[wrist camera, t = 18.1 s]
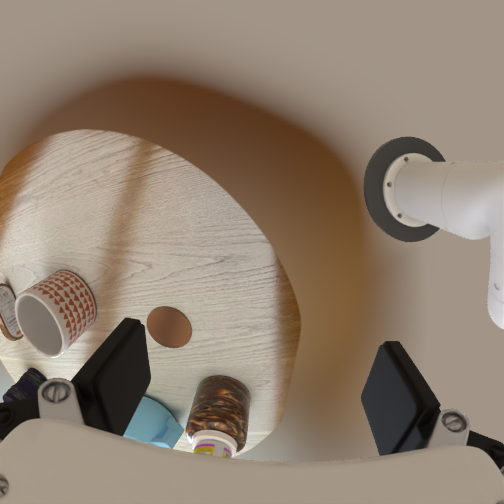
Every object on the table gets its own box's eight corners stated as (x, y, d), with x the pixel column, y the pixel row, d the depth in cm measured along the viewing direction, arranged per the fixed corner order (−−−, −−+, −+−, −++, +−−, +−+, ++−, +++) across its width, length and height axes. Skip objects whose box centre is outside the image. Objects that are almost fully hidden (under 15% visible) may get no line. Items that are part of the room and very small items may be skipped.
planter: (78, 337, 54) (48, 367, 42) (42, 290, 52) (7, 313, 39) (108, 309, 51) (75, 341, 39) (67, 257, 49) (27, 278, 37)
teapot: (110, 415, 61) (91, 450, 48) (119, 374, 56) (94, 413, 43) (173, 445, 63) (162, 483, 49) (194, 409, 58) (182, 454, 44)
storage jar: (25, 362, 59) (-2, 389, 45) (47, 375, 59) (20, 405, 45) (33, 385, 62) (9, 412, 48) (54, 397, 62) (31, 427, 48)
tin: (4, 280, 52) (-17, 291, 44) (9, 277, 52) (-12, 289, 44) (26, 331, 56) (8, 346, 48) (32, 330, 55) (13, 346, 47)
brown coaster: (191, 309, 50) (191, 311, 50) (192, 350, 53) (191, 351, 52) (146, 303, 50) (145, 304, 50) (149, 342, 53) (148, 344, 52)
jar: (187, 396, 56) (170, 446, 42) (213, 366, 53) (199, 421, 39) (232, 419, 58) (224, 470, 43) (262, 392, 55) (260, 447, 40)
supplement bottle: (189, 449, 42) (175, 504, 29) (203, 434, 40) (189, 495, 28) (222, 461, 42) (213, 516, 30) (239, 447, 41) (232, 507, 28)
